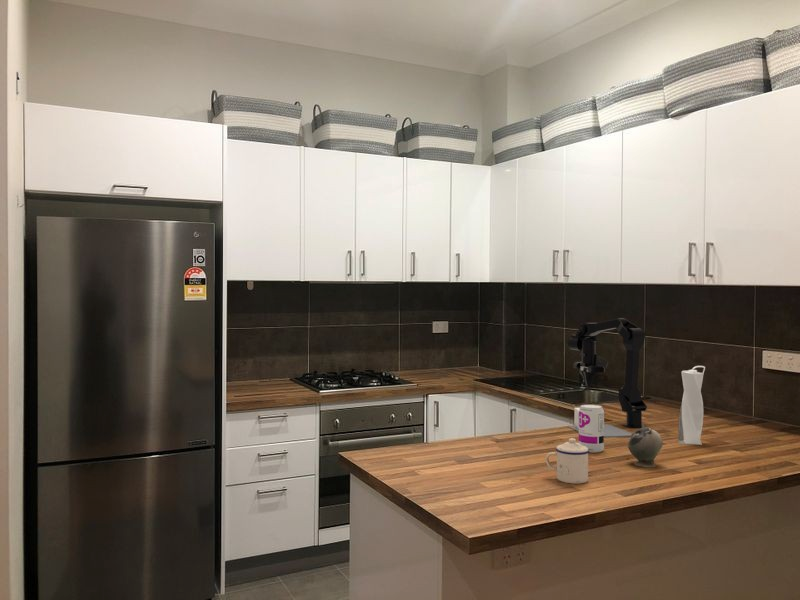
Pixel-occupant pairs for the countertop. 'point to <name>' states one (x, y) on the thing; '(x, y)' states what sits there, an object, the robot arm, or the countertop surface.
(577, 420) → the milk carton
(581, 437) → the supplement can
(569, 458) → the teacup with lid
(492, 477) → the countertop surface
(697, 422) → the white tall faceted vessel
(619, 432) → the mat
